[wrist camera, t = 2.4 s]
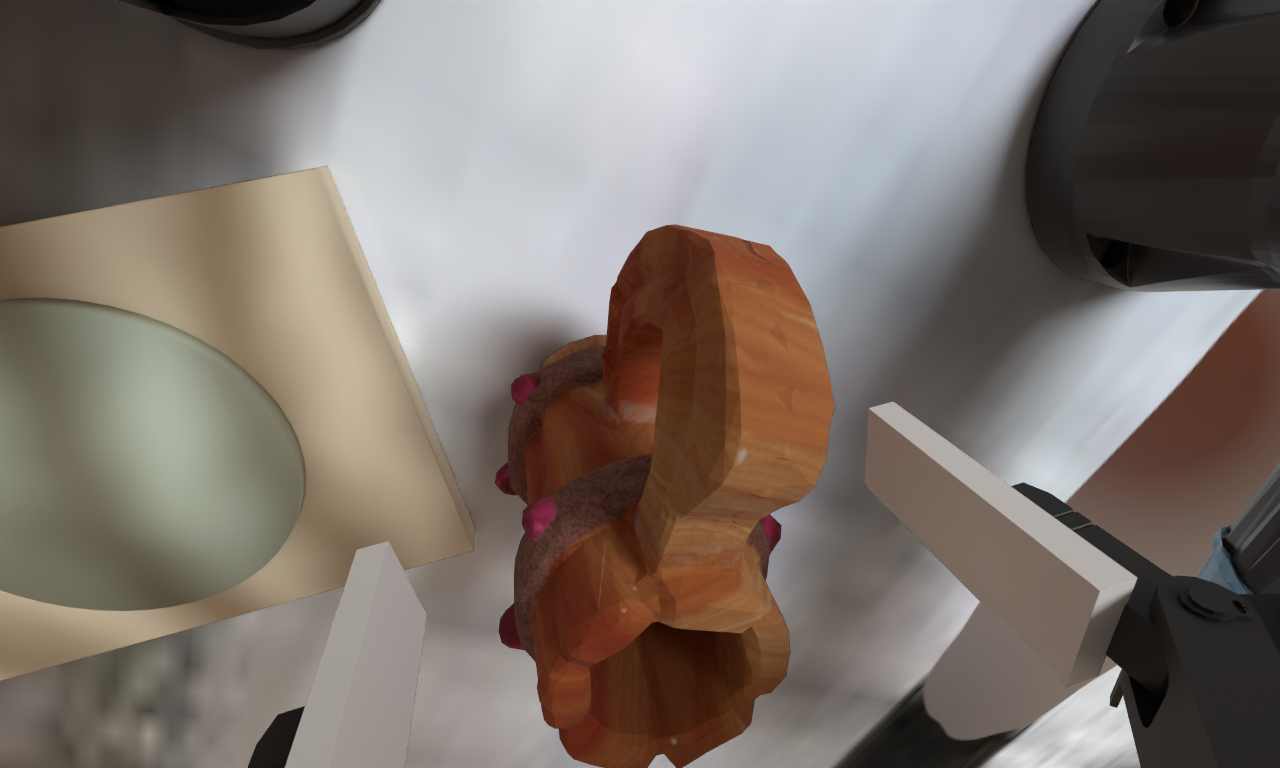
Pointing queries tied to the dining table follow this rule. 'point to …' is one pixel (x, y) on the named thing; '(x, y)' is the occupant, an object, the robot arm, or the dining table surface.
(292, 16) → the french press
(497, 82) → the dining table surface
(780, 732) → the dining table surface
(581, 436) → the mug
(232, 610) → the serving board
